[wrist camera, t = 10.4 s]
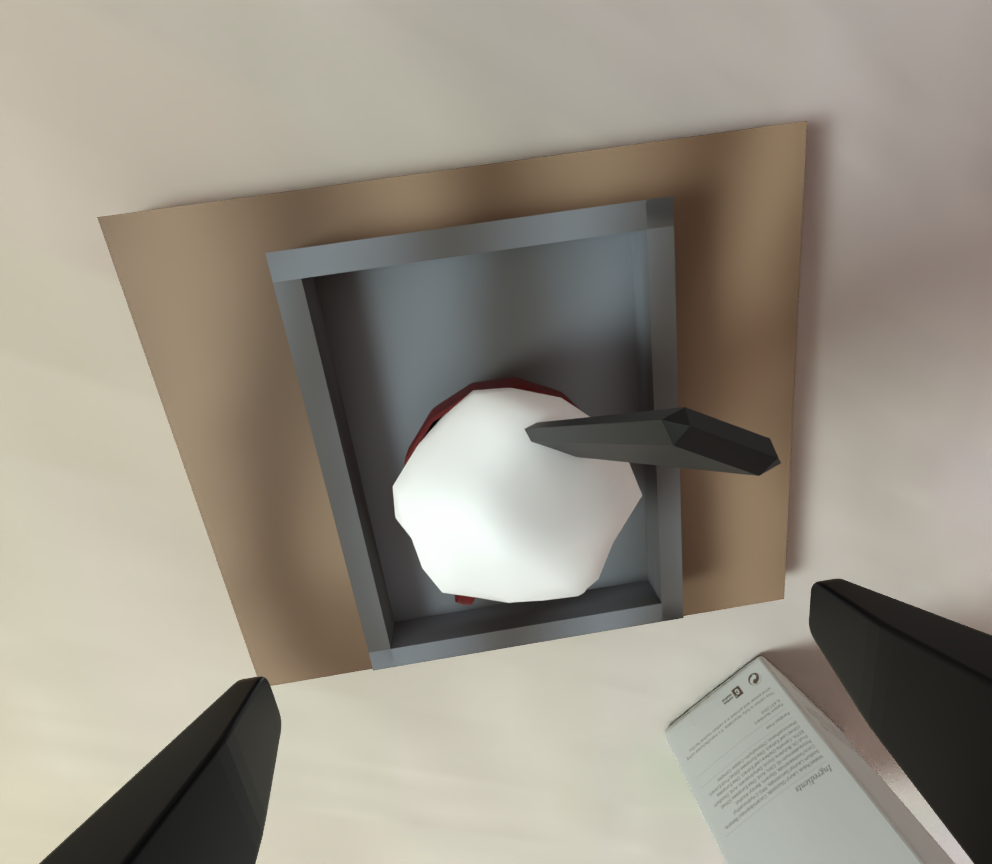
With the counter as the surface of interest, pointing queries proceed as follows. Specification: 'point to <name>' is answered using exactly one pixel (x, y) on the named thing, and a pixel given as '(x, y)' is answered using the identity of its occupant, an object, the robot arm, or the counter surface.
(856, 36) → the counter surface
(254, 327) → the tray stand
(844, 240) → the counter surface
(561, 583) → the cocoa
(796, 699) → the skincare box
